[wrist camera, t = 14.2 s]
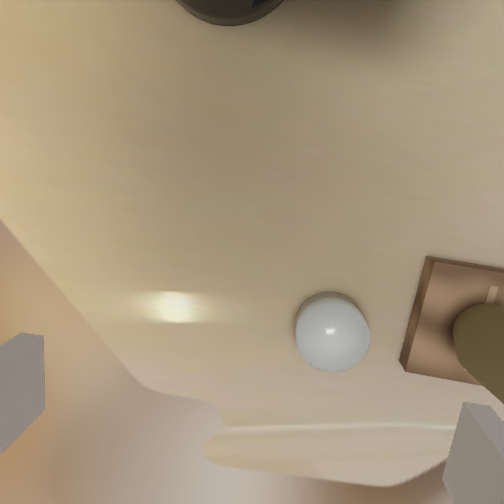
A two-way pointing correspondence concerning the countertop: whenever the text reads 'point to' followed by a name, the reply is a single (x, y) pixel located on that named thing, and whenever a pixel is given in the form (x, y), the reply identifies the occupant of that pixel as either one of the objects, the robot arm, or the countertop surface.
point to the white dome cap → (331, 332)
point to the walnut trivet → (446, 315)
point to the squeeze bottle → (482, 345)
